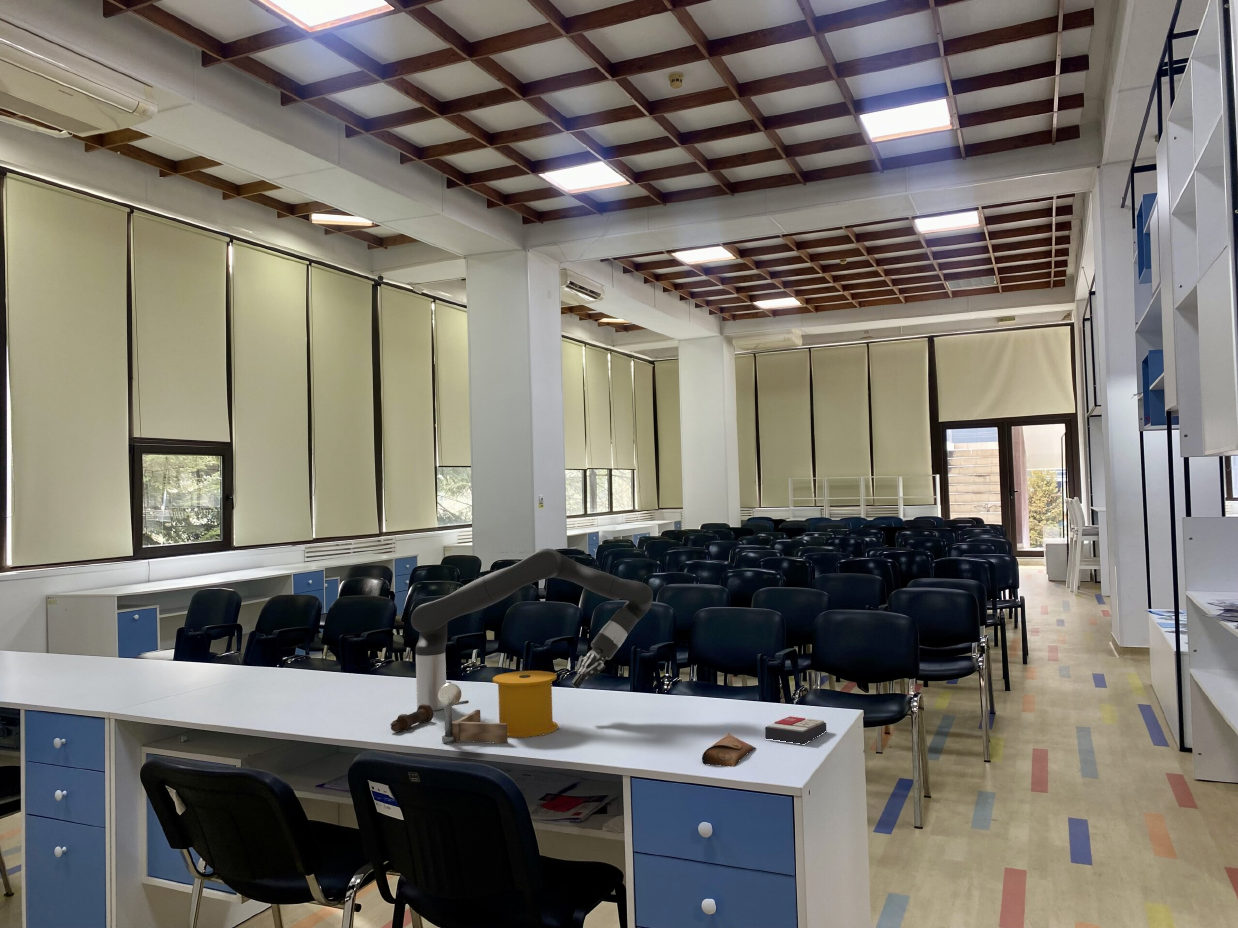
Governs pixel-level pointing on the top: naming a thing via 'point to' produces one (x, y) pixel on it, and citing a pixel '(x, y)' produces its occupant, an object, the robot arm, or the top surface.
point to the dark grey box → (795, 729)
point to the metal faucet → (449, 707)
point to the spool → (526, 702)
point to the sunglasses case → (726, 751)
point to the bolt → (412, 718)
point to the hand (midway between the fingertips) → (574, 686)
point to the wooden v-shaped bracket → (478, 730)
